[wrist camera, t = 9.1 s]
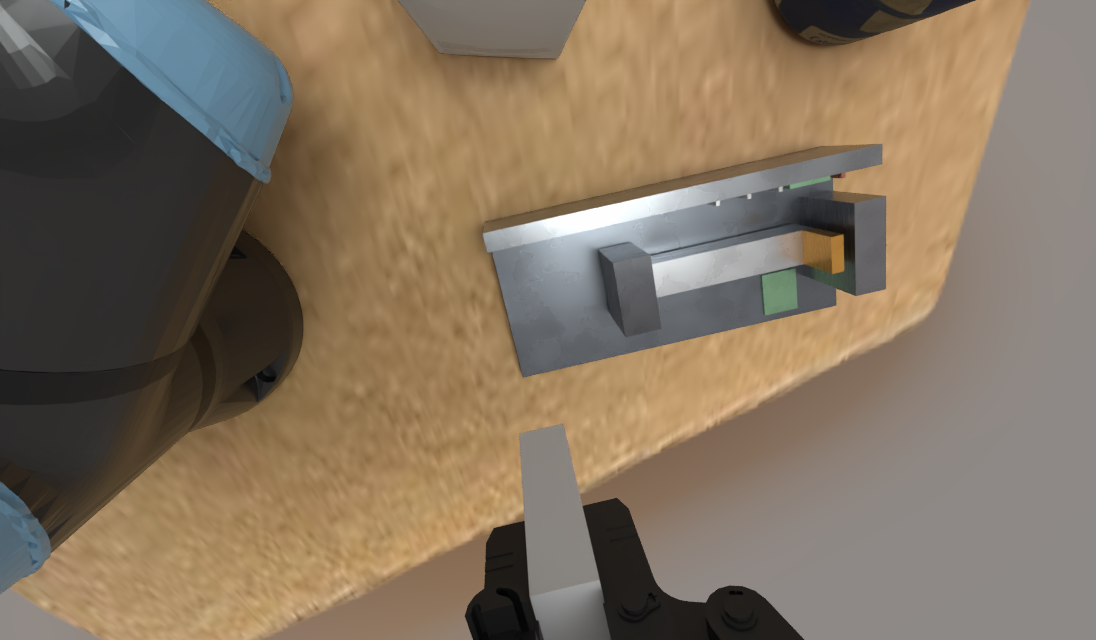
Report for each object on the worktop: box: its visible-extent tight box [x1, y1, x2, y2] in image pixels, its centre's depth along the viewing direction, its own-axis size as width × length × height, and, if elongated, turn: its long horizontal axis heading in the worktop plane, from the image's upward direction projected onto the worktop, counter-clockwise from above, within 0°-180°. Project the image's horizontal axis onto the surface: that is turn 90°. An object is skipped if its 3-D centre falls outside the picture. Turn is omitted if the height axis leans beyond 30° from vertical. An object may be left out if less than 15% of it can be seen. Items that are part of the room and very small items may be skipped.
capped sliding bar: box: [599, 224, 844, 337], centre depth 34 cm, size 14×5×6 cm, turn 102°
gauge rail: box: [482, 144, 886, 377], centre depth 35 cm, size 25×12×7 cm, turn 102°
